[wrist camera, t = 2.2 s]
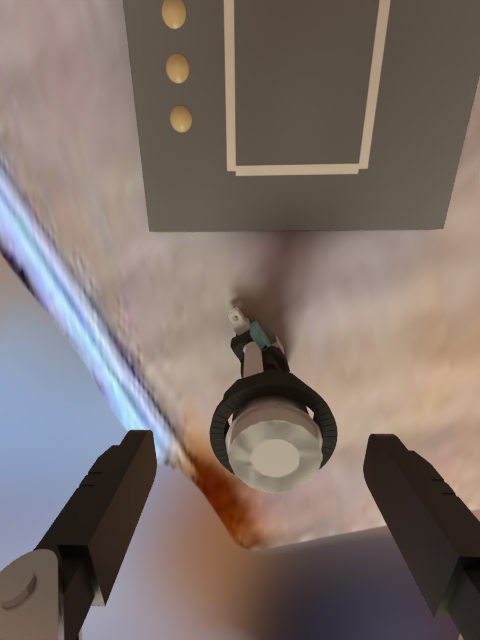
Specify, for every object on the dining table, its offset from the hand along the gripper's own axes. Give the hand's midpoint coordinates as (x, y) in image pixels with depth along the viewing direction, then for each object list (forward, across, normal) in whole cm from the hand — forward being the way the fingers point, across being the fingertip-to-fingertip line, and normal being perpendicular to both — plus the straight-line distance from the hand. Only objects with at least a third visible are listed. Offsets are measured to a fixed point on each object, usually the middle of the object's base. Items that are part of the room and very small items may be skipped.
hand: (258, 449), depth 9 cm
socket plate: (+10, -2, -16) cm, 19 cm away
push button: (+10, 0, 0) cm, 10 cm away
